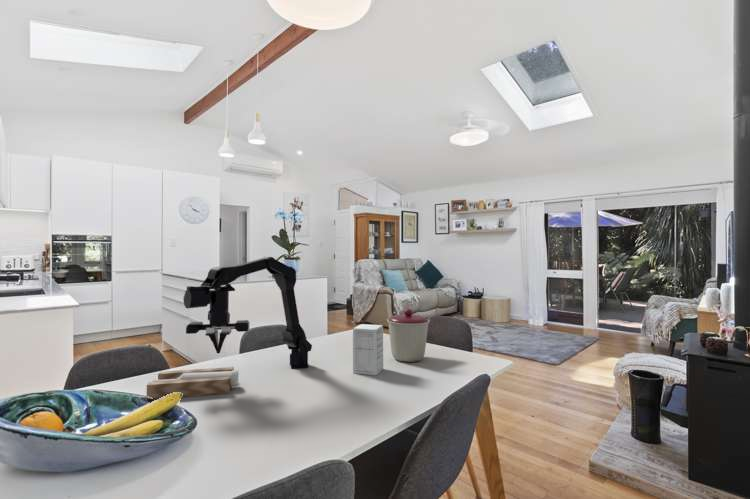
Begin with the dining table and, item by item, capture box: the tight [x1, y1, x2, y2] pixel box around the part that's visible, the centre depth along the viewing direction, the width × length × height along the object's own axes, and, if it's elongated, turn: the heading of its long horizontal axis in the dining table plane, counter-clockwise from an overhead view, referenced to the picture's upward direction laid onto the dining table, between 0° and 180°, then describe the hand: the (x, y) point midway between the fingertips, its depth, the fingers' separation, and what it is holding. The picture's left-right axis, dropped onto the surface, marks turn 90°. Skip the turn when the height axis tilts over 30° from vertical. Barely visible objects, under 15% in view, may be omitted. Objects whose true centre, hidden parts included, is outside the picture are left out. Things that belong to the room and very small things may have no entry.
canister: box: [386, 308, 431, 363], centre depth 157 cm, size 18×18×21 cm
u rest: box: [146, 366, 235, 401], centre depth 120 cm, size 23×13×4 cm, turn 104°
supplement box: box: [352, 323, 384, 376], centre depth 141 cm, size 10×9×17 cm
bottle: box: [152, 369, 239, 388], centre depth 119 cm, size 5×5×25 cm
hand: (218, 353), depth 122 cm, fingers closed
